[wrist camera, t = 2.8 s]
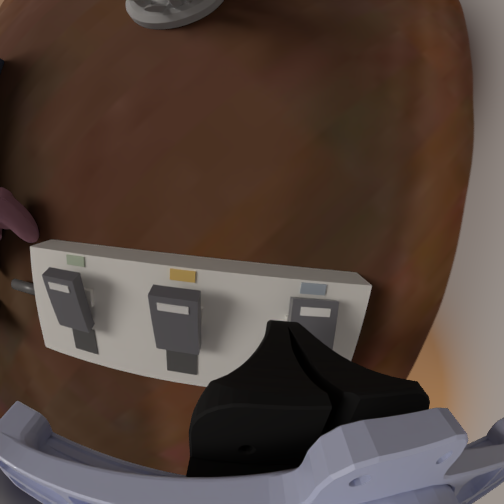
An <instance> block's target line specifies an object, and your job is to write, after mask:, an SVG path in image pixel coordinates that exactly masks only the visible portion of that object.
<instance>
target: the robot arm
mask: <svg viewBox="0 0 504 504" xmlns="http://www.w3.org/2000/svg"><path fill="white" fill-rule="evenodd" d="M429 404H430V401H429V397H428V395H427V394H426V392H424V390H423V388H422V387H421V386H420V384H419V383H418V382H417V381H411V380H406V379H400V378H395V377H391V376H388V375H384V374H381V373H378V372H375V371H372V370H369V369H367V368H365V367H362V366H360V365H358V364H356V363H353V362H352V361H350V360H348V359H346V358H344V357H343V356H341V355H339V354H338V353H336V352H335V351H333V350H332V349H330V348H329V347H328V346H326V345H325V344H324V343H322V342H321V341H320V340H319V339H317V338H316V337H315V336H314V335H313V334H312V333H310V332H309V331H308V330H307V329H306V328H305V327H303V326H302V325H301V324H300V323H298V322H289V321H278V320H269V321H268V322H267V325H266V331H265V336H264V338H263V340H262V341H261V343H260V345H259V346H258V348H257V349H256V351H255V352H254V353H253V354H252V355H251V356H250V358H249V359H248V360H246V361H245V362H244V363H243V364H242V365H241V366H240V367H238V368H237V369H235V370H234V371H232V372H231V373H229V374H228V375H225V376H223V377H220V378H218V379H215V380H212V381H211V382H210V383H209V384H208V386H207V387H206V389H205V390H204V392H203V394H202V395H201V397H200V399H199V400H198V402H197V404H196V407H195V409H194V411H193V414H192V418H191V423H190V429H189V445H190V460H189V465H188V470H187V475H186V476H185V475H180V474H175V473H170V472H165V471H161V470H156V469H152V468H148V467H144V466H141V465H137V464H134V463H130V462H127V461H124V460H120V459H117V458H114V457H111V456H108V455H106V454H103V453H100V452H97V451H95V450H92V449H90V448H87V447H85V446H82V445H80V444H77V443H75V442H73V441H71V440H68V439H66V438H64V437H62V436H60V435H58V434H56V433H54V432H52V429H51V426H50V424H49V422H48V421H47V419H46V418H45V417H44V416H43V415H42V414H40V413H39V412H37V411H35V410H34V409H32V408H30V407H28V406H26V405H25V404H23V403H21V402H19V401H16V402H15V403H14V405H13V406H12V407H11V408H10V409H9V410H8V411H7V412H6V414H5V415H4V416H3V417H2V418H1V419H0V468H1V470H2V471H3V472H4V473H5V474H6V475H7V477H8V478H9V479H10V480H11V481H12V482H13V483H14V484H15V485H16V486H17V487H19V488H20V489H21V490H23V491H24V492H26V493H27V494H29V495H30V496H32V497H33V498H35V499H37V500H38V501H40V502H41V503H43V504H472V503H474V502H475V501H477V500H478V499H480V498H481V497H483V496H484V495H486V494H487V493H489V492H490V491H491V490H493V489H494V488H496V487H497V486H498V485H500V484H501V483H502V482H504V418H502V419H500V420H499V421H497V422H496V423H495V424H494V425H493V426H492V428H491V429H490V430H489V432H488V433H487V436H485V437H483V438H481V439H478V440H476V441H475V442H472V443H470V444H467V442H468V437H467V433H466V432H465V431H464V429H463V428H462V427H461V425H460V424H459V423H458V422H457V420H456V419H455V417H454V416H453V415H452V413H451V412H450V411H449V409H448V408H433V409H429Z"/></svg>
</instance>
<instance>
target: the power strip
mask: <svg viewBox="0 0 504 504" xmlns="http://www.w3.org/2000/svg"><path fill="white" fill-rule="evenodd" d="M30 255H31V266H32V275H33V283H34V284H33V283H29V282H25V281H22V280H18V279H13V280H12V283H11V286H12V288H13V289H16V290H19V291H22V292H25V293H29V294H32V295H35V297H36V303H37V309H38V314H39V319H40V324H41V329H42V333H43V337H44V341H45V345H46V347H48V348H50V349H53V350H56V351H59V352H61V353H64V354H67V355H70V356H73V357H76V358H79V359H82V360H86V361H89V362H92V363H96V364H99V365H103V366H106V367H110V368H114V369H118V370H121V371H126V372H130V373H134V374H138V375H143V376H147V377H152V378H157V379H162V380H167V381H173V382H179V383H185V384H191V385H198V386H205V387H207V386H208V384H209V383H210V382H211V381H212V380H215V379H218V378H220V377H223V376H225V375H228V374H229V373H231V372H232V371H234V370H235V369H237V368H238V367H240V366H241V365H242V364H243V363H244V362H245V361H246V360H248V359H249V358H250V356H251V355H252V354H253V353H254V352H255V351H256V349H257V348H258V346H259V345H260V343H261V341H262V340H263V338H264V336H265V331H266V325H267V322H268V321H269V320H278V321H288V313H289V304H290V297H303V298H316V299H330V300H336V301H339V308H338V316H337V324H336V331H335V337H334V344H333V351H335V352H336V353H338V354H339V355H341V356H343V357H344V358H346V359H348V360H350V361H351V360H352V357H353V354H354V351H355V347H356V344H357V341H358V338H359V334H360V331H361V327H362V324H363V320H364V316H365V312H366V309H367V305H368V301H369V297H370V292H371V288H372V285H371V284H370V283H368V282H367V281H366V280H365V279H364V278H363V277H361V276H360V275H359V274H358V273H357V272H347V271H336V270H326V269H315V268H305V267H295V266H285V265H275V264H265V263H256V262H246V261H236V260H227V259H218V258H208V257H199V256H190V255H181V254H172V253H163V252H154V251H145V250H137V249H128V248H119V247H111V246H102V245H94V244H86V243H78V242H69V241H61V240H53V239H51V240H48V241H45V242H42V243H39V244H36V245H33V246H30ZM49 267H52V268H57V269H63V270H68V271H74V272H79V273H80V275H81V279H82V283H83V286H84V290H85V294H86V297H87V301H88V304H89V308H90V311H91V314H92V317H93V320H94V323H95V324H94V326H93V327H92V329H91V331H90V332H89V333H87V332H83V331H79V330H76V329H72V328H69V327H65V326H62V325H60V324H59V322H58V319H57V317H56V314H55V312H54V309H53V307H52V304H51V301H50V298H49V296H48V293H47V290H46V287H45V284H44V281H43V277H42V274H43V273H44V272H45V271H46V270H47V269H48V268H49ZM153 284H154V285H162V286H169V287H176V288H184V289H192V290H200V291H201V348H200V353H199V355H195V354H188V353H182V352H176V351H170V350H164V349H158V348H156V342H155V337H154V332H153V326H152V320H151V314H150V307H149V301H148V293H149V291H150V289H151V288H152V286H153Z"/></svg>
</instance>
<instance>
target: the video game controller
mask: <svg viewBox="0 0 504 504" xmlns="http://www.w3.org/2000/svg"><path fill="white" fill-rule="evenodd" d="M2 229H11V230H12V231H13V232H14V233H15V234H16V235H17V236H19V237H20V238H21V239H22V240H24V241H26V242H29V243H34V242H36V241H37V240H38V238H39V230H38V226H37V224H36V222H35V220H34V218H33V217H32V215H31V214H30V213H29V211H28V210H27V209H26V208H25V207H24V206H23V205H22V204H21V203H20V202H19V201H17V200H16V199H15V198H14V197H13V194H12V193H11V192H10V191H9V190H7V189H5V188H3V187H0V240H1V239H2Z"/></svg>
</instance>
